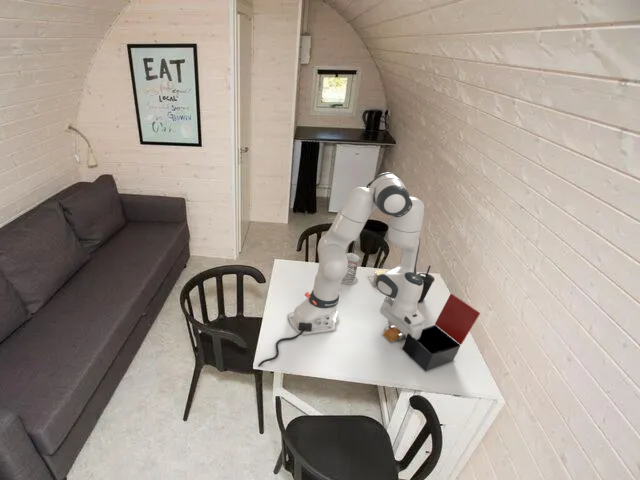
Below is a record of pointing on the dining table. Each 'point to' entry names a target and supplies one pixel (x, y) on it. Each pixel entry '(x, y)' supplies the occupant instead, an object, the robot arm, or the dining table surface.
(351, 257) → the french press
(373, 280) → the stacked layers on plate
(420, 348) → the black hinged box
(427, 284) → the drinking cup
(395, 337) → the bread roll
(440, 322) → the red box lid
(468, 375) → the dining table surface
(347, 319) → the dining table surface
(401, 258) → the robot arm
